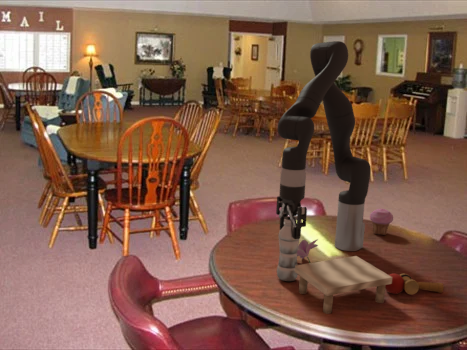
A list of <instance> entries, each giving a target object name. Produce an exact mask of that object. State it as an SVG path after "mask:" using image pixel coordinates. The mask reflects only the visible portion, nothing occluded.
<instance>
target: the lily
mask: <svg viewBox="0 0 467 350" xmlns="http://www.w3.org/2000/svg"><path fill="white" fill-rule="evenodd" d="M318 240H319V238H317V239H314V240H312V241H311V242H310V243H309V241H307V240H306V239H302V240H300V241H299V244H298V251H297V257H299V258H300V259H302V260H304V259H305V257H306V258H307V260H308V263H311V261H310V257H309V253H310V251H311V250H312V249H315V248H317V247H318V246H319V245H318V244H316V243H317V241H318Z"/></svg>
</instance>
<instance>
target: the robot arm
mask: <svg viewBox="0 0 467 350" xmlns="http://www.w3.org/2000/svg"><path fill="white" fill-rule="evenodd" d="M309 57H310V63H311V67H312V70H313V74H314V77H313V78H312V79H311V80H309V81H308V82H307V83H306V84H305V85H304V86H303V88H302V89H301V90H300V92H299V94H298V97H297V98H296V101H295V102H294V103H293V104H292V105H291V106H290V107H289V108H288V109H287V110H286V111H285V112H284V113H283V115H282V116H281V117H280V118H279V120H278V123H277V132H278V135H279V136H280V137H281V138H282V139H285V140H293V141H298V143H297V145H296V146H288V147H285V148H284V149H283V151H282V156H281V157H282V159H281V171H280V176H279V177H280V178H279V179H280V180H279V195H278V196H277V197H276V207H275V208H276V210H275V211H276V212H275V213H276V215H277V216H278V218H279V231H280V230H281V229H282V227H283V226H284V218H285V217H290V219H291V220H292V221H293V225H294V227H293V238H294V239H299V238H300V239H301V236H302V233H301V232H302V228H305V227H306V226H307V214H308V213H307V212H308V211H307V210H308V207H306V206H302V203H301V202H302V200H303V199H304V198H305V195H306V182H307V181H306V180H307V179H306V178H307V177H306V176H307V172H306V165H307V154H308V151H309V148H310V144H311V141H312V138H313V136H314V132H315V123H314V121H313V119H312V118H314V117H315V116H316V115H317V112H318V110H319V107H321V104H323V108H324V113H325V114H324V115H325V119H326V123H327V127H328V131H329V135H330V140H331V146H332V150H333V151H332V152H333V157H334V158H333V159H334V166H335V172H336V176H337V177H338V178H339V180H342V181H343V182H347V183H349V187H348V189H347V190H343V191H340V192H339V193H338V200H337V201H338V202H337V213H336V223H335V224H336V225H335V226H336V228H335V240H334V247H335V248H336V249H338V250H341V251H345V252H357V251H359V250H361V249H363V248H364V239H365V228H366V223H365V222H364V215H365V214H364V212H365V204H366V202H365V201H366V198H367V196H368V192H369V186H370V181H371V180H370V178H371V171H372V170H371V165H370V163H369V161H368V160H366V159H364V158H361V157H356V156H353V153H352V151H351V144H350V142H351V141H350V140H351V137H352V134H353V132H354V130H355V125H356V118H355V113H354V108H353V105H352V103H351V101H350V99H349V98H348V96H347V95H346V94H345V93H344V91H342V90H341V89H340V88H339V87H338V86H337V85H336V83H335V81H336V80H337V79H338V77H339V76H340V75H341V74H342V72H343V71H344V70H345V67H346V66H347V63H348V60H349V50H348V47H347V45H346V43H344V42H343V41H341V40H338V41H337V40H335V41H334V40H333V41H326V42H325V41H324V42H317V43H314V44H313V45H312V46H311V48H310V52H309ZM300 239H299V240H300Z"/></svg>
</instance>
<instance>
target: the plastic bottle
mask: <svg viewBox="0 0 467 350" xmlns="http://www.w3.org/2000/svg"><path fill="white" fill-rule="evenodd" d="M293 227H294V225H293V221H292V220H291V219H290V216H288V217H285V218H284V226H283V227H282V229H281V230H280V229H279V233H278V244H279V256H278V264H277V266H276V275H277V278H278V279H279V280H280V281H283V282H294V281H296V280H297V278H298V276H299V275H298V274H297V273H296V272H295V265H298V256H297V251H298V245H299V244H300V239H301V237H300V238H299V239H294V238H293Z"/></svg>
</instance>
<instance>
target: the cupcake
mask: <svg viewBox="0 0 467 350" xmlns="http://www.w3.org/2000/svg"><path fill="white" fill-rule="evenodd" d="M369 220H370V221H371V222H372V223H371V224H372V233H373V234H375V235H382V236H386V235H387V232H388V228H389V225H390V224H391V223H393V222H394V215H393V213H392V212H391V211H389V210H388V209H386V208H380V207H379V208H376V209H374V210H373V211H372V212H370V214H369Z"/></svg>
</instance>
